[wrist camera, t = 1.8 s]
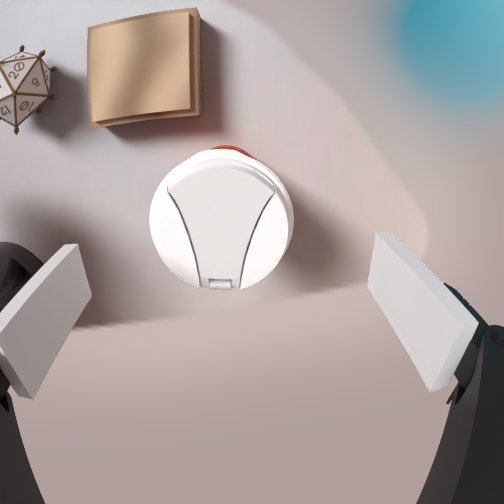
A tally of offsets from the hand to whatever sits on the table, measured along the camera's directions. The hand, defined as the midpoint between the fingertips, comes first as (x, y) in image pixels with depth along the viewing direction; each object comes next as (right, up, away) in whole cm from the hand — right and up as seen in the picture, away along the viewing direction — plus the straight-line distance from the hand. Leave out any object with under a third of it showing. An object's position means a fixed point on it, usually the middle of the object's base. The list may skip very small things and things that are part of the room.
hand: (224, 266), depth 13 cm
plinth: (-9, +18, +12) cm, 23 cm away
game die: (-22, +18, +11) cm, 30 cm away
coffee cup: (-1, +8, +17) cm, 19 cm away
